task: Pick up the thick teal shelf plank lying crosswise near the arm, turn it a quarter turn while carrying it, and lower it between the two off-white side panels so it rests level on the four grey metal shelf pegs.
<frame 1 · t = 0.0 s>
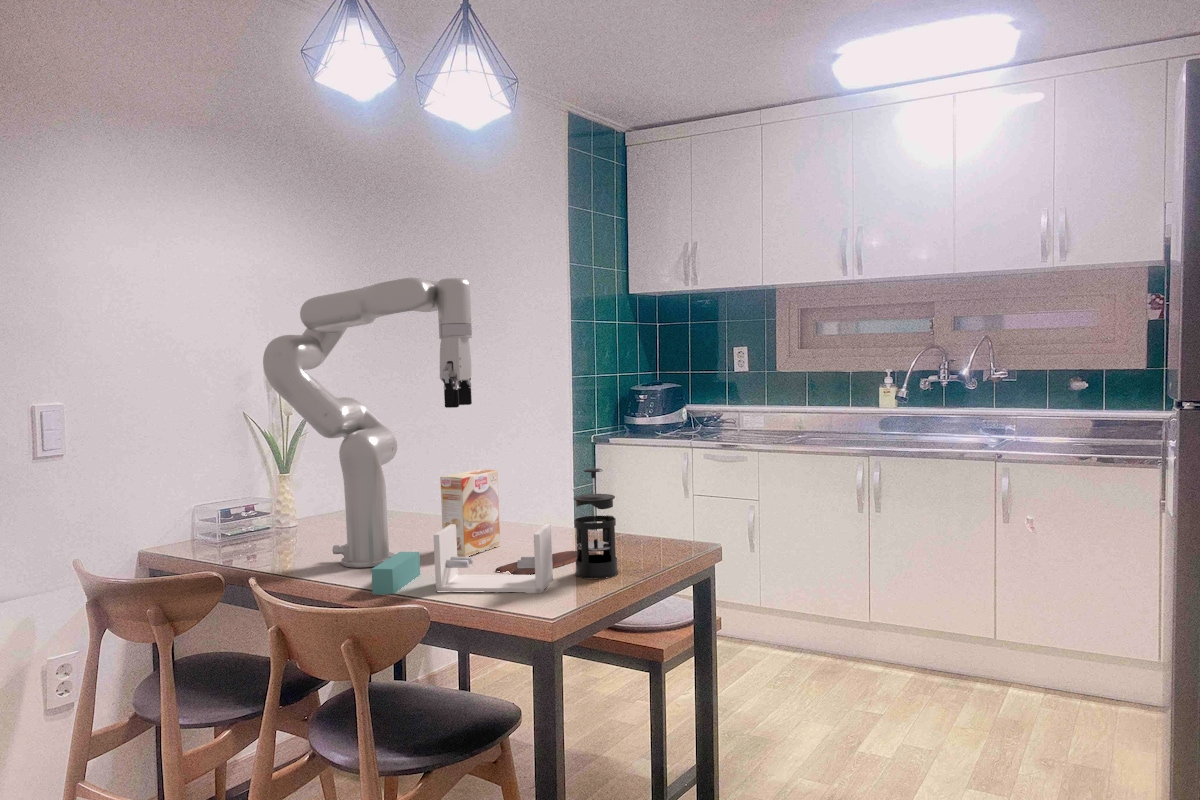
hand: (458, 406, 210), 37 cm above the table, tool pointing down, fingers open, 9 cm apart
plank: (397, 585, 193), on the table
french press: (598, 574, 196), on the table
peg frame: (495, 585, 189), on the table
wooden tablet: (549, 565, 208), on the table
coffeecake box: (472, 552, 224), on the table
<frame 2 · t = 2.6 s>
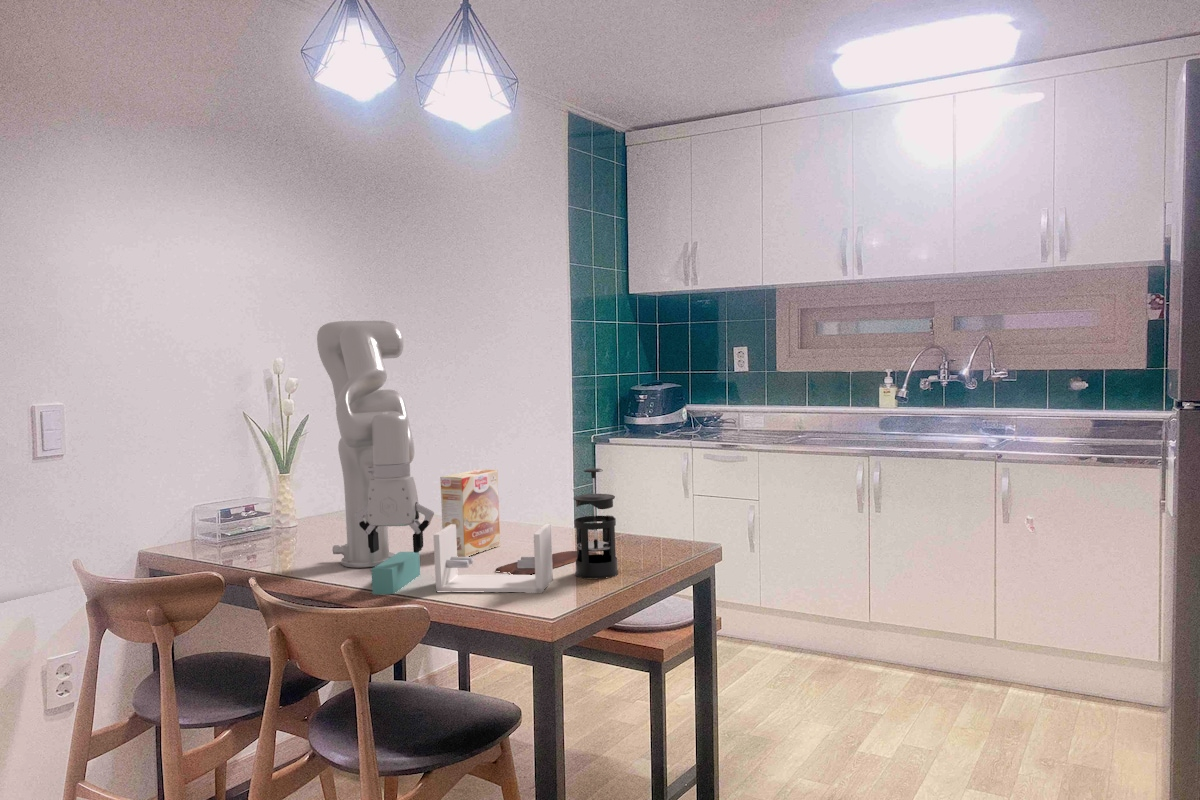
hand: (396, 551, 193), 7 cm above the table, tool pointing down, fingers open, 9 cm apart
nothing on the table moved.
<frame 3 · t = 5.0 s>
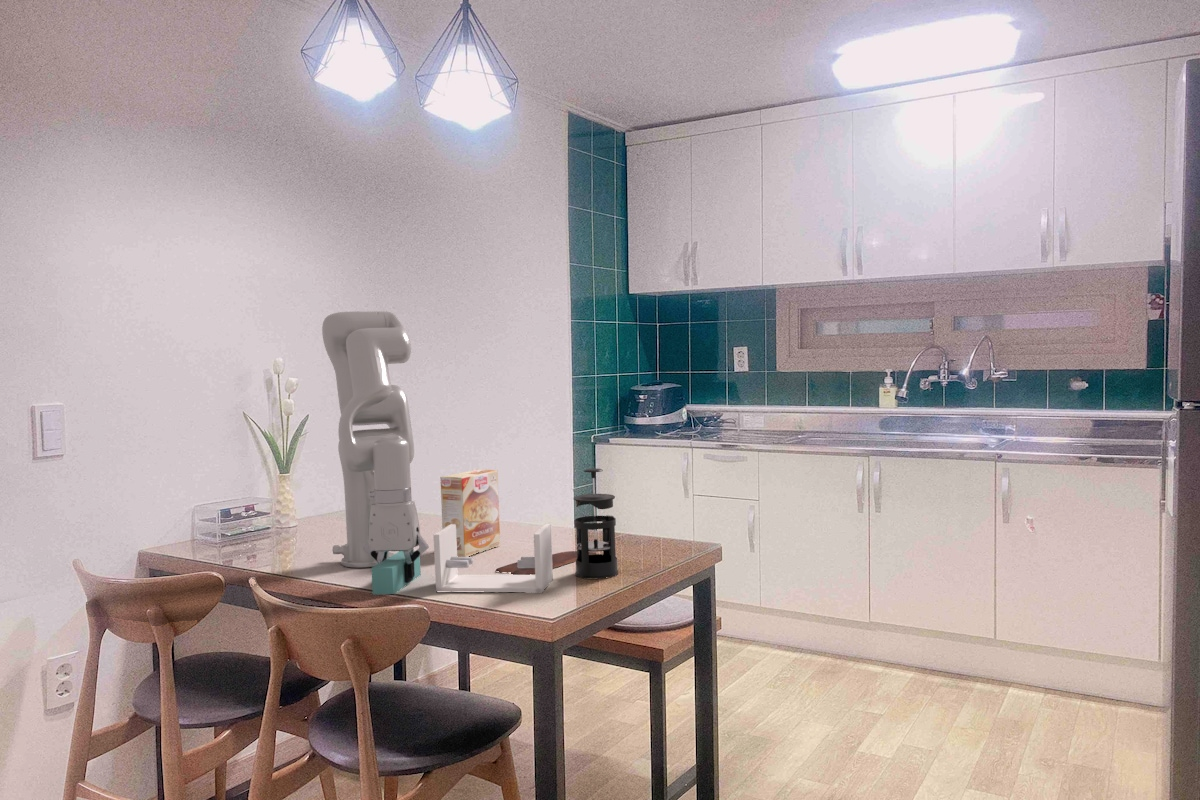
hand: (397, 580, 193), 1 cm above the table, tool pointing down, fingers closed on plank, 4 cm apart
plank: (397, 584, 193), on the table, touching gripper
everything else where it was.
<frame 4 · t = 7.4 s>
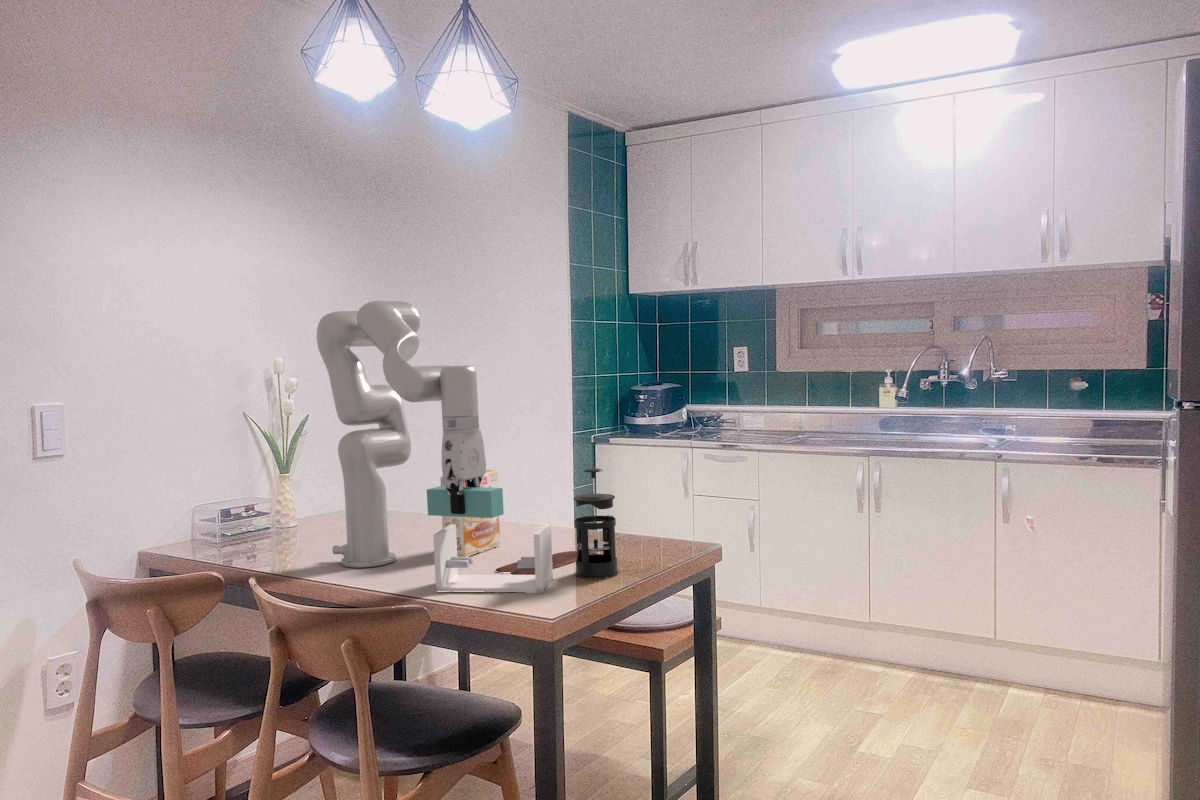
hand: (465, 510, 189), 16 cm above the table, tool pointing down, fingers closed on plank, 4 cm apart
plank: (465, 514, 189), point 15 cm above the table, touching gripper
everything else where it was.
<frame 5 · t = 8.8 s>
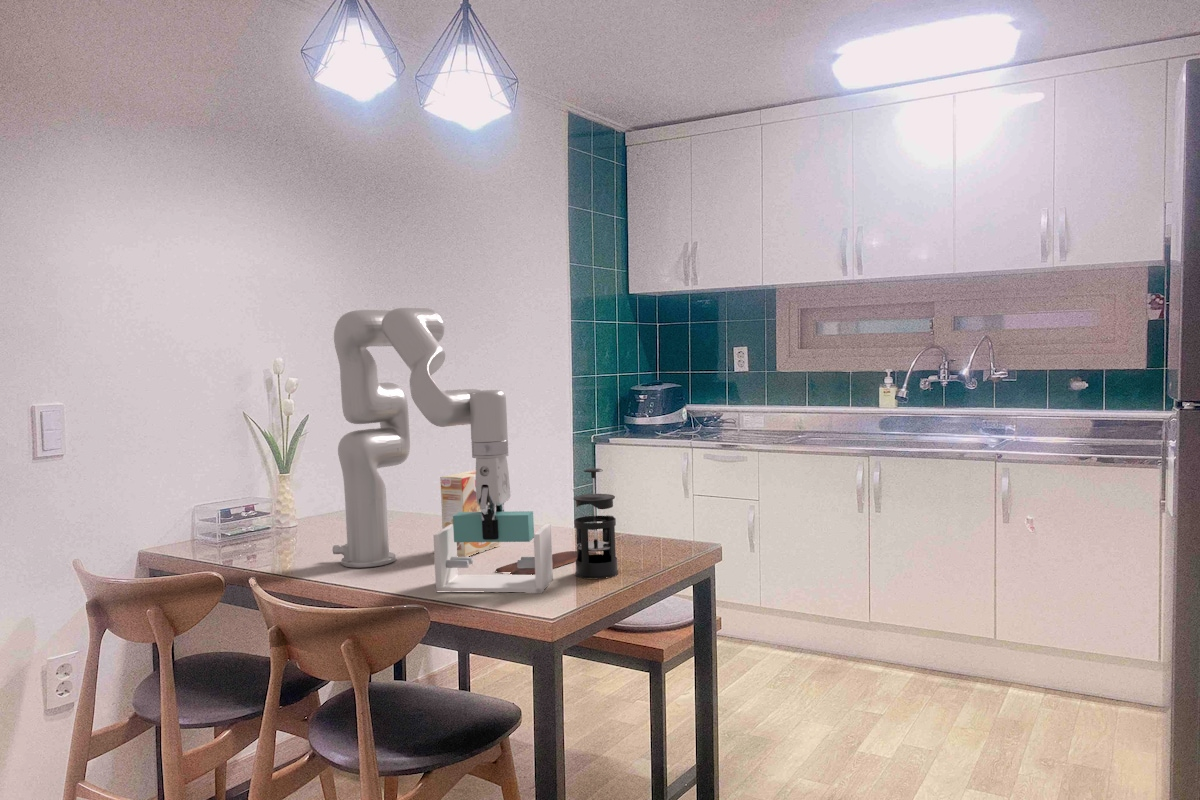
hand: (494, 535, 188), 11 cm above the table, tool pointing down, fingers closed on plank, 4 cm apart
plank: (494, 539, 188), point 10 cm above the table, touching gripper
everything else where it was.
when the fingers open (7 cm above the table, at t = 10.1 s): plank stays where it is, resting on peg frame.
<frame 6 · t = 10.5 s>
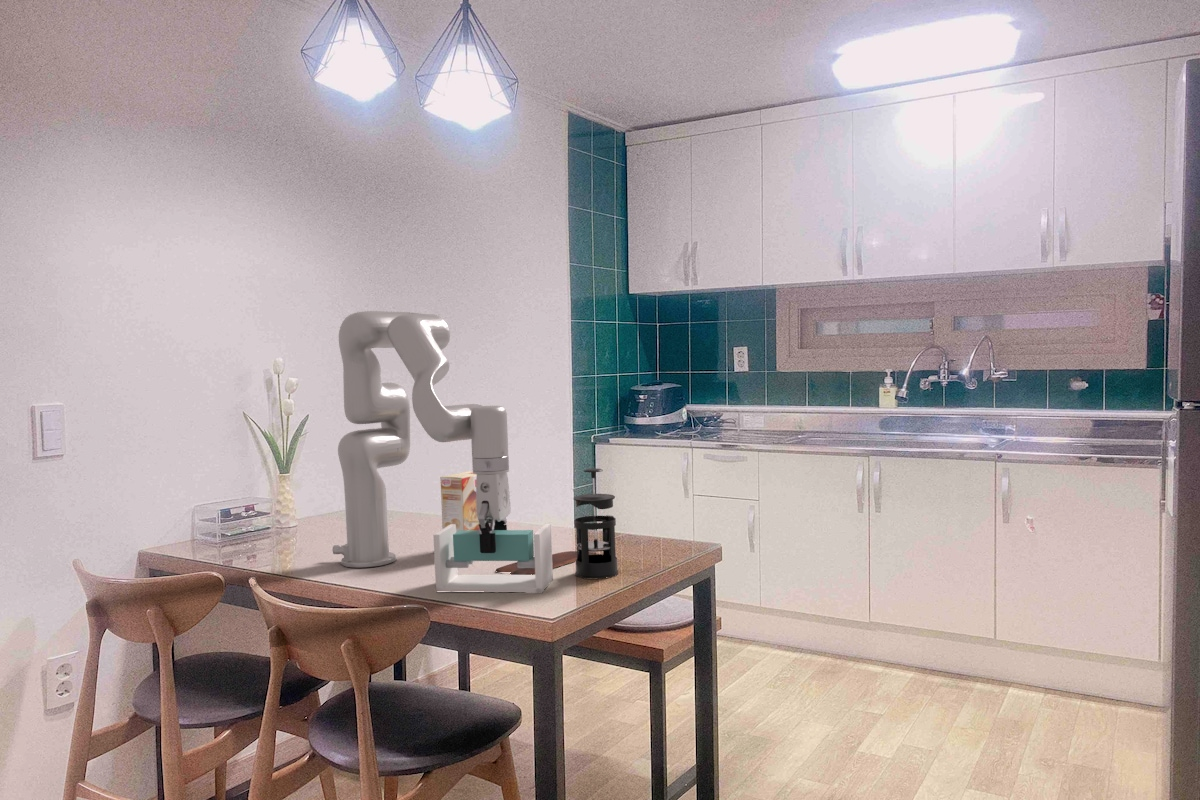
hand: (494, 547, 188), 8 cm above the table, tool pointing down, fingers open, 8 cm apart
plank: (494, 558, 189), point 6 cm above the table, touching peg frame
everything else where it was.
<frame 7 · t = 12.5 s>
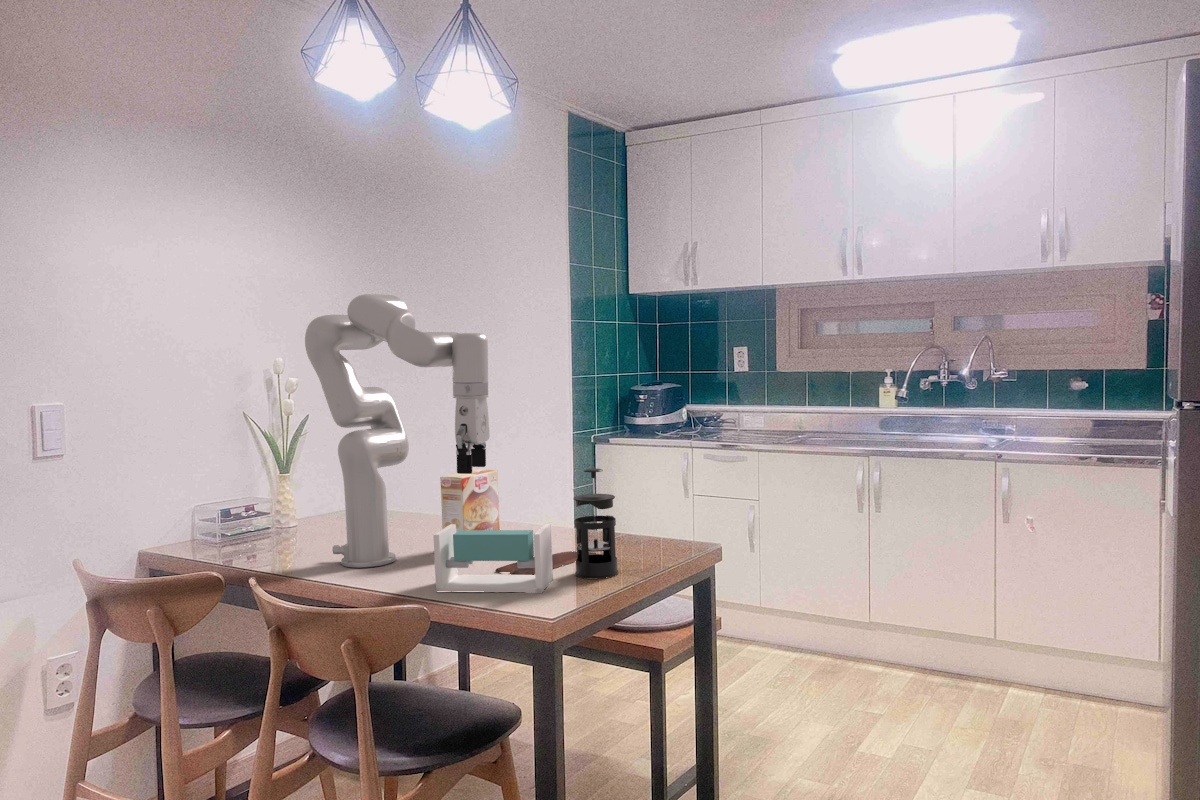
hand: (471, 470, 194), 24 cm above the table, tool pointing down, fingers open, 9 cm apart
nothing on the table moved.
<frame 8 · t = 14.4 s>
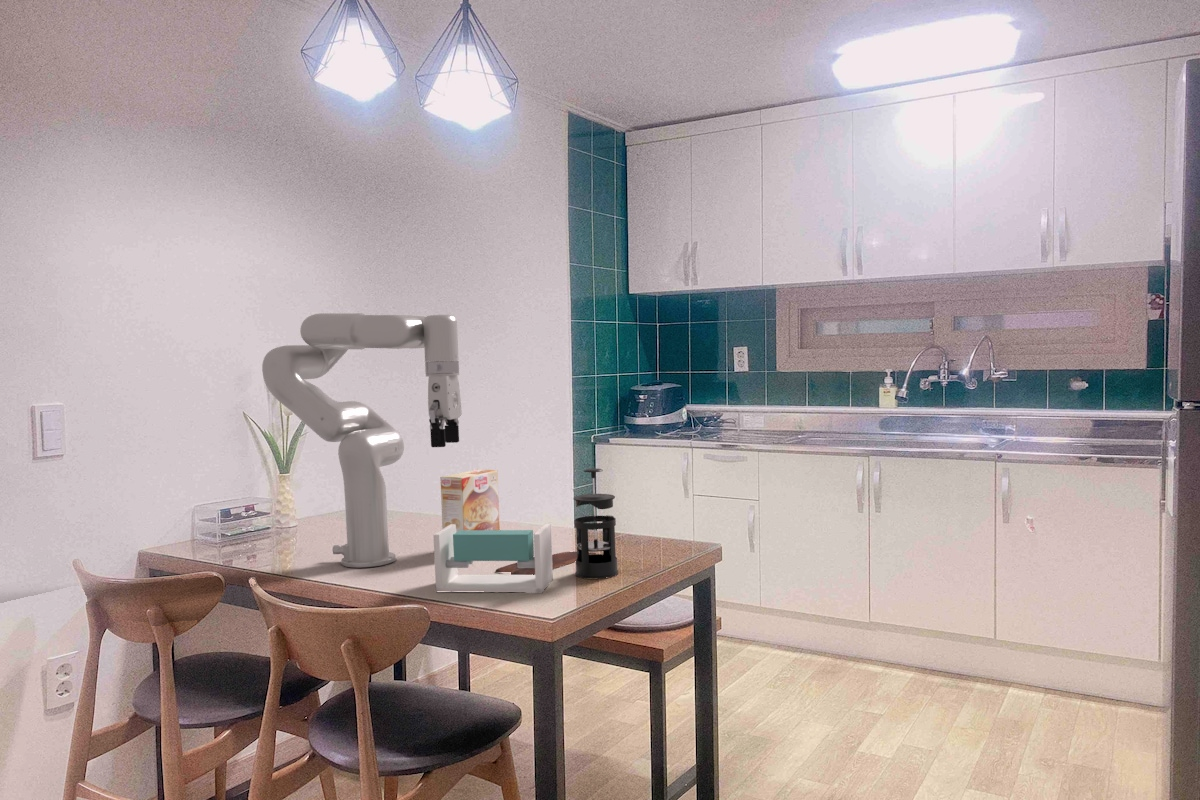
hand: (445, 444, 205), 28 cm above the table, tool pointing down, fingers open, 9 cm apart
nothing on the table moved.
at the end: plank 0.1 cm off-centre on the peg frame, point 5.8 cm above the peg frame's base; plank tilted 0°; the gripper is holding nothing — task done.
